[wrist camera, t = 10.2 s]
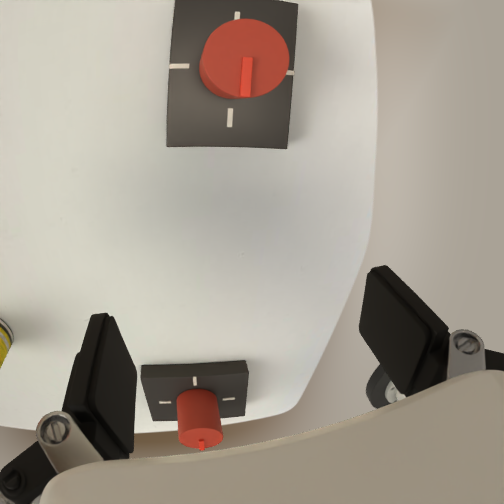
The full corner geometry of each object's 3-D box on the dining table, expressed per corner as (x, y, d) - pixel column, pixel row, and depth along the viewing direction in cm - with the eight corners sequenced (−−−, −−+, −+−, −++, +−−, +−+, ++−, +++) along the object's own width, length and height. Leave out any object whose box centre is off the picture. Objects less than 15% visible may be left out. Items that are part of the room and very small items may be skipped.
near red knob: (174, 389, 32) (177, 431, 27) (217, 387, 33) (224, 429, 28) (178, 412, 35) (180, 451, 30) (216, 410, 36) (223, 449, 31)
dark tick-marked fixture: (245, 360, 35) (249, 373, 33) (242, 404, 39) (245, 417, 37) (141, 364, 33) (140, 379, 31) (152, 409, 37) (152, 422, 35)
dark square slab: (176, 0, 18) (176, -8, 16) (290, 9, 20) (299, 3, 18) (168, 143, 23) (166, 147, 21) (280, 145, 25) (288, 149, 23)
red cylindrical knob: (201, 35, 18) (206, 14, 13) (268, 40, 19) (293, 23, 14) (197, 98, 20) (200, 96, 15) (264, 100, 21) (288, 101, 16)
